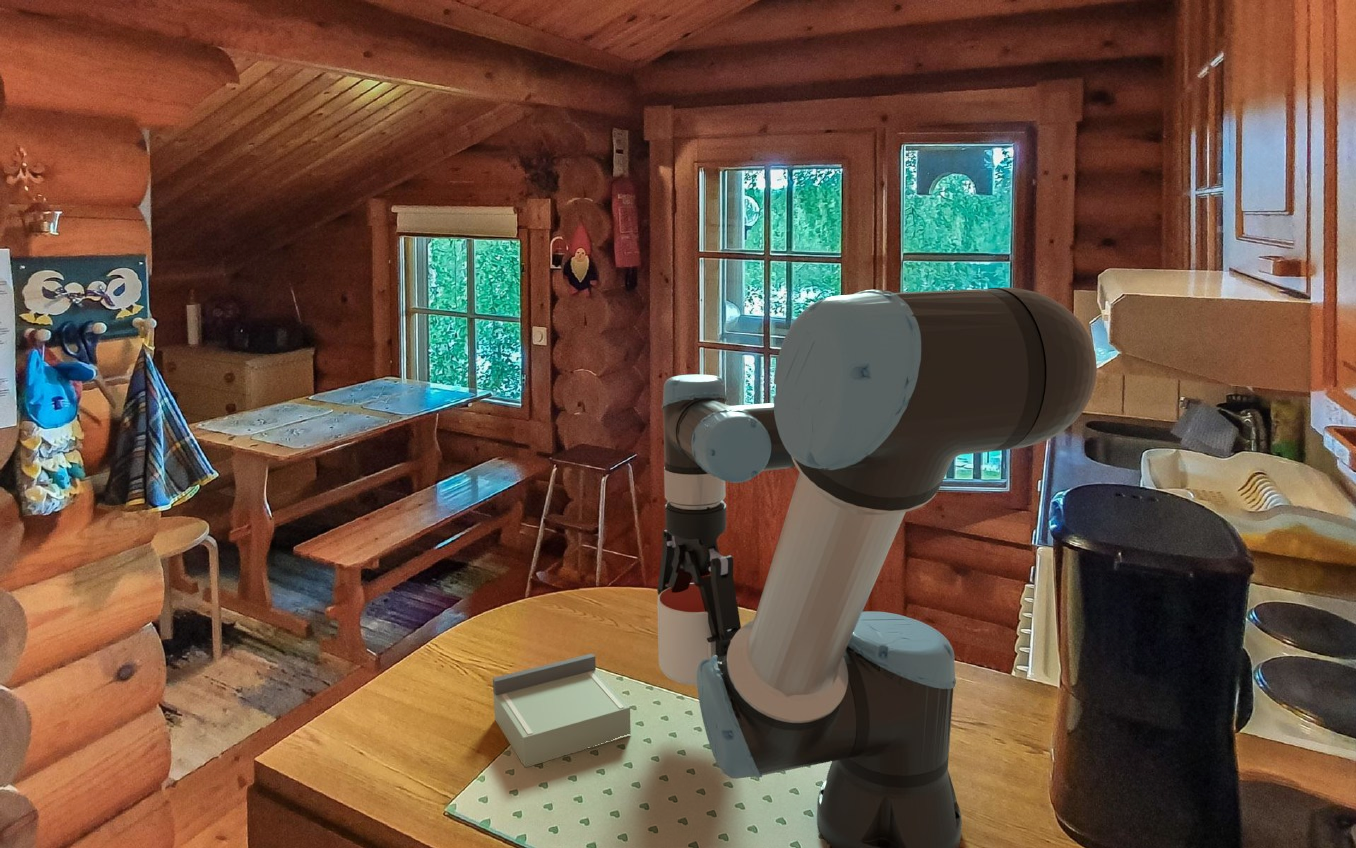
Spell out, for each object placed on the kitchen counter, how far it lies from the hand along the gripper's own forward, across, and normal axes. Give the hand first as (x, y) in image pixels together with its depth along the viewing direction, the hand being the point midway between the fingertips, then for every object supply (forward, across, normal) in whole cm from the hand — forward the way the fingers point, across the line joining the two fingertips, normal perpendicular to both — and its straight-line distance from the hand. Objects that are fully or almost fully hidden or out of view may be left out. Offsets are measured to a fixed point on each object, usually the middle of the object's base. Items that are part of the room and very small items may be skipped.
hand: (697, 668), depth 116 cm
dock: (+8, +8, +16) cm, 19 cm away
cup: (+1, 0, 0) cm, 1 cm away
